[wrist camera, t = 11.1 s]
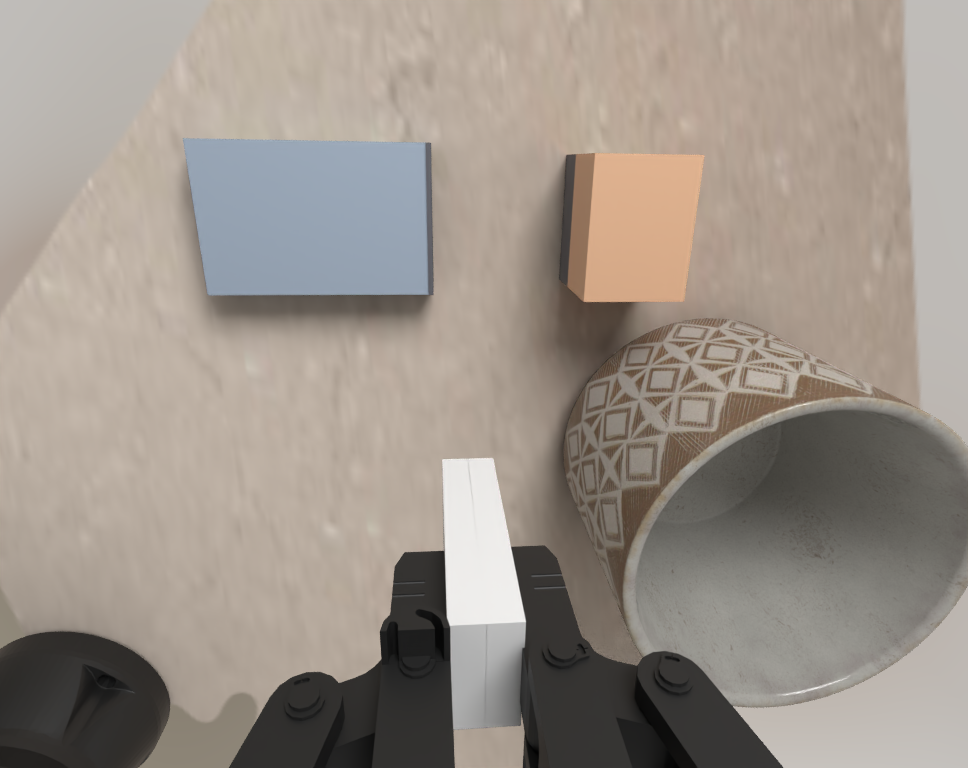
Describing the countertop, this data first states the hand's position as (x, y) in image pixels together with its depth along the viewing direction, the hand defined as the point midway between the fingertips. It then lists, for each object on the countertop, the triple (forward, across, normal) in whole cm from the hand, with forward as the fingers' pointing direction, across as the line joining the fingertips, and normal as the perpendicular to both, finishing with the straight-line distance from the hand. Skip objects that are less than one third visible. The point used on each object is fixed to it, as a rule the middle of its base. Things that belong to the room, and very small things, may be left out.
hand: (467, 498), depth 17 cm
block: (+24, +11, +6) cm, 27 cm away
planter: (+25, +18, -10) cm, 32 cm away
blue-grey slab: (+24, -8, +6) cm, 26 cm away
